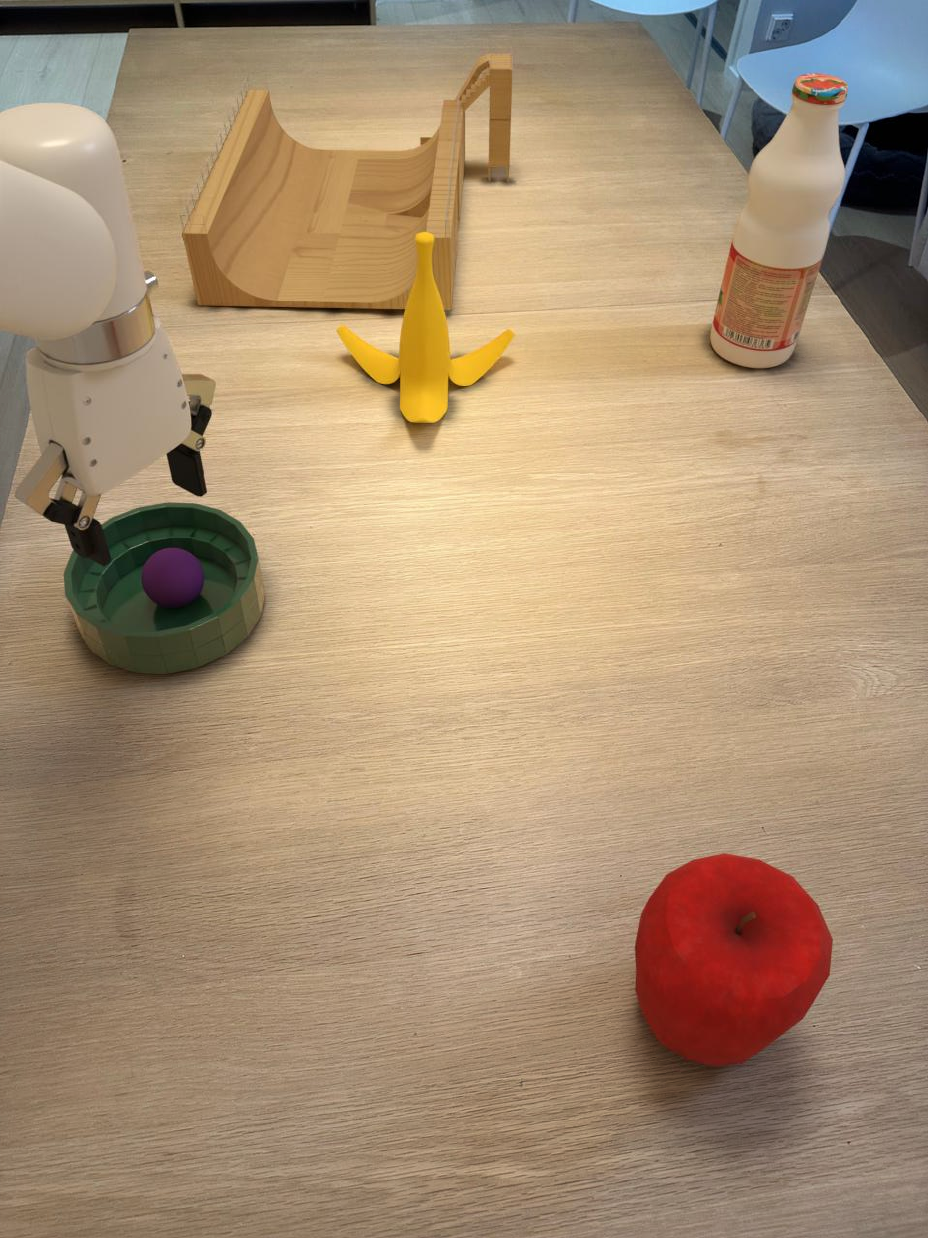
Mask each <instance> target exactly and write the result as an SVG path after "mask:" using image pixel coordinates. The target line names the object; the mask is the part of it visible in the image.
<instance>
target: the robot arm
mask: <svg viewBox="0 0 928 1238" xmlns="http://www.w3.org/2000/svg"><path fill="white" fill-rule="evenodd" d="M158 281H159V280H158V279H157V277H156V276H155V275H154V273H153V272H151V271H150V270H144V265H143V261H142V257H141V251H140V246H139V243H138V236H137V232H136V228H135V222H134V217H133V213H132V209H131V203H130V198H129V194H128V189H127V184H126V179H125V175H124V169H123V165H122V160H121V154H120V150H119V147H118V142H117V139H116V136H115V133H114V132H113V130H112V129H111V127H110V125H109V124H108V122H107V121H106V120H104V118H103V117H102V116H101V115H99V114H97V113H96V112H95V111H92V110H91V109H89V108H86V107H83V106H81V105H77V104H72V103H66V102H65V103H63V102H37V103H35V102H34V103H28V104H22V105H19V106H15V107H11V108H8V109H5V110H2V111H1V112H0V332H5V333H7V334H13V335H17V336H21V337H27V338H32V340H33V342H34V347H32V348H31V349H29V350H28V351H27V352H26V354H25V375H26V385H27V386H26V387H27V394H28V402H29V407H30V412H31V417H32V422H33V427H34V431H35V435H36V440H37V443H38V446H39V451H40V453H41V455H40V457H39V458H38V459H37V460H36V462H35V463H34V465H33V466H32V467H31V469H30V470H29V471H28V473H27V474H26V475H25V477H24V478H23V480H21V482H20V483H19V485H18V486H17V487H16V489H15V491H14V497H15V499H16V500H18V501H19V502H21V503H22V504H24V505H25V506H26V507H28V508H29V509H30V510H32V511H34V512H35V513H36V514H38V515H40V516H42V517H43V518H44V519H46V520H48V521H50V522H52V523H55V524H59V525H64V528H65V531H66V534H67V537H68V540H69V544H70V546H71V548H72V549H73V550H74V551H75V552H76V553H77V554H78V555H79V556H81V557H83V558H85V559H86V558H87V557H88V558H90V559H92V560H93V561H95V562H97V563H98V564H100V565H102V566H103V567H105V566H106V565H108V564H109V563H110V562H111V561H110V560H111V555H110V552H109V549H108V545H107V542H106V539H105V535H104V532H103V529H102V525H101V524H102V523H101V522H100V521H99V520H97V519H95V518H94V517H95V513H96V510H97V508H98V505H99V503H100V499H101V497H102V495H105V494H106V493H109V492H110V491H112V490H114V489H115V488H117V487H119V486H121V485H122V484H124V483H125V482H127V481H128V480H130V479H131V478H133V477H134V476H136V475H137V474H139V473H140V472H142V471H144V470H145V469H146V468H148V467H150V466H151V465H152V464H154V463H156V462H157V461H158V460H160V459H161V458H162V457H164V456H165V455H166V458H167V463H168V468H169V472H170V476H171V481H172V483H173V484H174V485H176V486H177V487H178V488H181V489H183V490H185V491H186V492H188V493H190V494H192V495H193V496H196V497H197V498H199V497H200V498H203V496H205V495H206V494H208V488H207V484H206V478H205V470H204V465H203V460H202V455H201V451H202V450H204V448H205V446H206V445H207V440H206V437H205V436H204V434H205V432H206V430H207V428H208V425H209V423H210V421H211V418H212V416H213V415H212V414H213V412H212V411H213V410H212V409H211V408H210V407H211V405H213V400H214V395H215V390H216V384H217V383H216V381H215V379H212V378H210V377H208V376H206V375H204V374H201V373H182V371H181V368H180V365H179V362H178V359H177V357H176V353H175V351H174V348H173V346H172V343H171V341H170V339H169V336H168V334H167V332H166V330H165V328H164V326H163V324H162V322H161V320H160V319H159V318H158V317H157V316H156V315H154V313H153V309H152V304H151V299H150V298H151V297H150V296H151V295H152V293H153V292H155V291H157V290H158V289H159V282H158ZM188 397H189V398H188ZM60 477H61V478H60ZM59 479H60V480H59ZM58 480H59V483H58V486H57V489H56V491H55V495H54V498H52V497H50V492H51V490H52V488H53V487H54V486H55V484H56V483H57V481H58ZM78 490H79V491H81V495H80V498H79V502H78V504H75V503H73V502H74V499H75V497H76V493H77V491H78ZM73 550H72V551H73Z"/></svg>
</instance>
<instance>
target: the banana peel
mask: <svg viewBox="0 0 928 1238" xmlns="http://www.w3.org/2000/svg"><path fill="white" fill-rule="evenodd" d="M415 243H416V248H417V263H418V264H417V273H416V278H415V281H414V284H413V287H412V289H411V292H410V295H409V298H408V301H407V305H406V309H404V313H403V316H402V317H403V318H402V323H401V329H400V336H399V346H398V347H399V349H398V357H397V356H395V355H392V354H390V353H387V352H385V351H382V350H380V349H379V348H377V347H375V346H373V345H372V344H370V343H369V342H368V341H366V340H364V339H363V338H361V337H360V336H358V335H357V334H356V333H354V332H353V331H352V330H351V329H350V328H349V327H347V326H346V325H345V324H341V325H339V326H338V328H337V329H336V334H337V335H338V336H339V338H340V340H341V341H342V343H343V345H344V346H345V347H346V349H347V350H348V351H349V353H350V354H351V356H352V357H353V359H354V360H355V361H356V362H357V364H358V365H359V366H360V367H361V368H362V369H363V370H364V371H365V372H366V373H367V374H368V375H369V376H370V377H371V378H372V379H373V380H374V381H375V382H376V383H378V384H383V385H390V384H393V383H395V382H397V381H398V380H399V379H400V380H399V381H400V382H399V383H400V387H399V388H400V389H399V390H400V391H399V397H400V398H399V410H400V411H401V414H402V415H403V417H404V418H405V419H406V420H407V421H408V422H410V423H416V424H417V423H422V424H425V423H426V424H432V423H436V422H438V421H439V420H441V418H443V417H444V415H445V414H446V412H447V411H448V408H449V406H448V404H449V402H448V401H449V380H450V381H451V382H452V383H453V384H455V385H457V386H460V387H468V386H471V385H473V384H474V383H476V382H477V381H478V380H479V379H481V378H482V377H483V376H484V375H485V374H486V373H487V372H488V371H489V370H490V369H491V368H492V367H493V366H494V364H495V363H497V361H498V360H499V359H500V357H502V355H503V354H504V352H505V351H506V349H507V348H508V347H509V345H510V344H511V342H512V341H513V339H514V337H515V336H516V335H515V332H514V331H512V329H510V328H507V329H506V330H504V331H503V332H502V333H501V334H499V335H498V336H497V337H495V338H493V339H492V340H491V341H489V342H487V343H486V344H483V346H481V347H479V348H477V349H475V350H473V351H471V352H468V353H467V354H464V355H460V356H459V357H456V358H452V359H451V343H450V334H449V327H448V321H447V316H446V312H445V311H446V310H444V307H443V304H442V301H441V297H440V294H439V292H438V289H437V286H436V283H435V281H434V277H433V272H432V249H433V244H434V236H433V234H431V233H428V232H421V233H418V234H416V236H415Z"/></svg>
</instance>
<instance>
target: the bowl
mask: <svg viewBox="0 0 928 1238" xmlns="http://www.w3.org/2000/svg"><path fill="white" fill-rule="evenodd" d="M101 525H102V529H103V532H104V535H105V539H106V542H107V545H108V549H109V552H110V555H111V560H110V561H111V562H110V563H109V564H108V565H106V566H105V567H103V566H102V565H100V564H98V563H97V562H95V561H93V560H92V559H90V558H88V557H87V558H86V559H85V558H83V557H81V556H79V555H78V554H77V553H76V552H75V551H74V550H72V552H71V553H70V556H69V559H68V561H67V564H66V567H65V568H64V571H63V584H64V587H63V588H64V595H65V598H66V601H67V604H68V606H69V609H70V612H71V614H72V616H73V619H74V622H75V625H76V627H77V629H78V633H79V634H80V635H81V638H82V639H83V641H84V643H85V644H86V645H87V647H88V649H89V650H90V651H91V652H92V653H93V654H94V655H96V656H98V657H99V658H100V659H101V660H103V661H104V662H106V663H107V664H109V665H110V666H113V667H116V668H119V669H122V670H125V671H128V672H129V671H130V672H132V673H136V674H157V675H159V674H161V675H168V674H174V673H178V672H183V671H188V670H192V669H193V670H194V669H198V668H201V667H203V666H205V665H206V664H209V663H211V662H213V661H215V660H218V659H219V658H222V657H223V656H226V655H227V654H228V653H230V652H231V651H232V650H234V649H235V648H236V647H237V646H238V645H240V644H241V643H242V642H243V641H244V640H245V639H247V638H248V637H249V636H250V634H251V632H252V631H253V629H254V627H255V626H256V624H257V623H258V621H259V620H260V618H261V617H262V612H263V608H264V602H265V598H266V594H265V587H264V582H263V574H262V569H261V563H260V558H259V553H258V550H257V546H256V541H255V538H254V537H253V535H252V534H251V533H250V532H249V531H248V529H247V528H246V527H245V526H244V524H243V523H242V522H241V521H240V520H238V519H237V518H235V517H233V516H231V515H230V514H228V513H227V512H225V511H224V510H222V509H220V508H219V509H218V508H215V507H211V506H207V505H203V504H199V503H196V502H160V503H155V504H149V505H144V506H138V507H135V508H133V509H131V510H128V511H125V512H122V513H120V514H118V515H115V516H112V517H110V518H109V519H107V520H106V521H104V522H103V523H101ZM166 548H179V549H183V550H186V551H188V552H189V553H191V554H192V555H194V556H195V557H196V558H197V560H198V561H199V562H200V564H201V566H202V568H203V572H204V585H203V589H202V591H201V593H200V595H199V596H198V597H197V598H196V599H195V600H194V601H193V602H192V603H190V604H189V605H187V606H184V607H181V608H165V607H162V606H160V605H158V604H156V603H154V602H153V601H152V600H151V599H150V598H149V597H148V596H147V594H146V593H145V591H144V589H143V586H142V580H141V576H142V570H143V567H144V565H145V563H146V561H147V560H148V559H149V558H150V557H151V556H152V555H153V554H154V553H156V552H158V551H160V550H162V549H166Z"/></svg>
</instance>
